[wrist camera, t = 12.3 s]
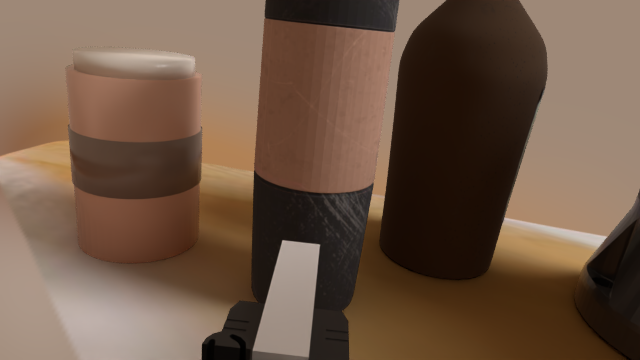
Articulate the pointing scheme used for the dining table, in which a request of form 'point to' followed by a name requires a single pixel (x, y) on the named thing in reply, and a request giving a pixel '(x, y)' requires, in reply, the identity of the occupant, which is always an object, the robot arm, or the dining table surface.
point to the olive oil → (460, 134)
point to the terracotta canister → (135, 152)
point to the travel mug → (319, 135)
